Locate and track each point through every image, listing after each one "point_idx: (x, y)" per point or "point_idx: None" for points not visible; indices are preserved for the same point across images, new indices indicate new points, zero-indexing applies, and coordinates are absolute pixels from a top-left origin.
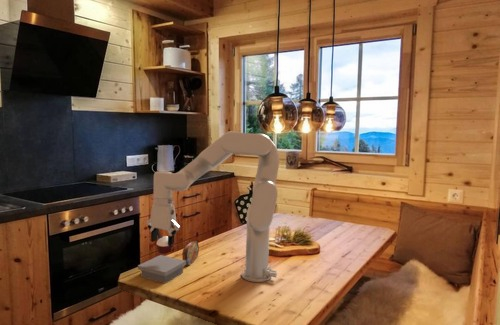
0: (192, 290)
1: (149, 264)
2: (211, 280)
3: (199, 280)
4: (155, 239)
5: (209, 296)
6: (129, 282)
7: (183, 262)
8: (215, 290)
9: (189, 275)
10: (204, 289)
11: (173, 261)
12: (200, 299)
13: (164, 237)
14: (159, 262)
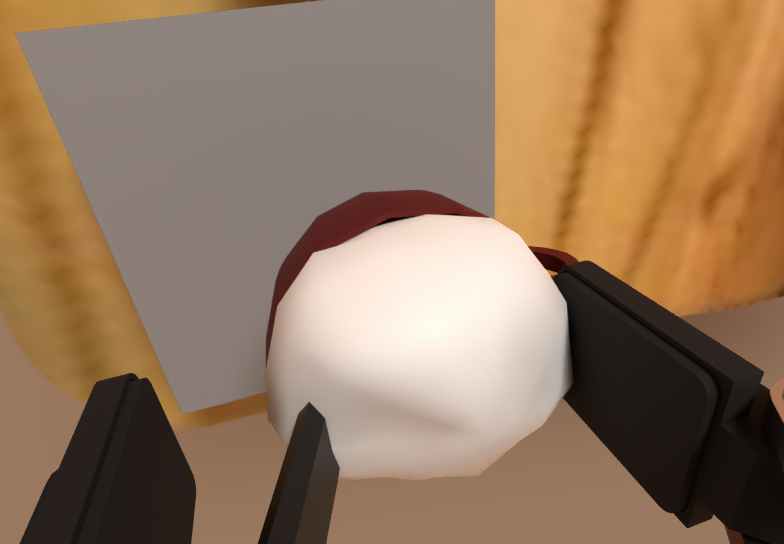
0: (638, 222)
1: (243, 331)
2: (700, 6)
3: (620, 70)
4: (164, 442)
5: (744, 211)
6: (230, 416)
7: (493, 51)
8: (760, 129)
9: (505, 40)
10: (697, 163)
11: (380, 107)
12: (711, 264)
13: (463, 442)
14: (275, 233)
